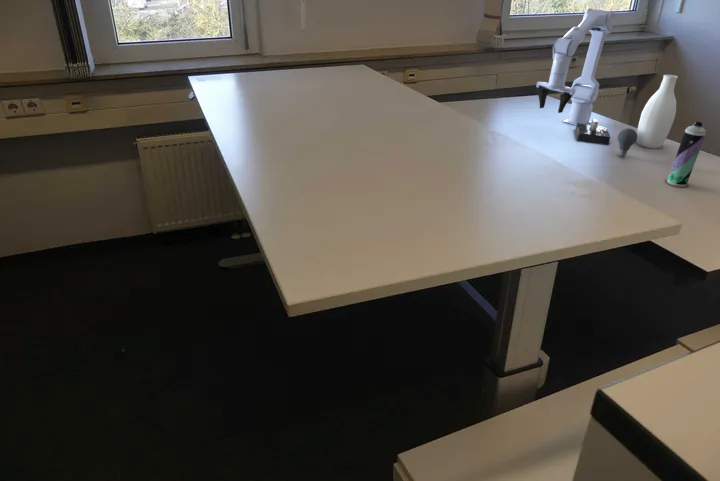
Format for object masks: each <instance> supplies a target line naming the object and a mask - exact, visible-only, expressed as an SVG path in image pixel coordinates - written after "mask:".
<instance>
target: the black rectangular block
mask: <svg viewBox="0 0 720 481" xmlns="http://www.w3.org/2000/svg"><path fill="white" fill-rule="evenodd" d="M574 131H575V136H576V141H577V142H583V143H591V144H598V145H607V146H608V145H609V144H610V140H611V136H610V135H611V134H610V132H609V130H608V128H607V126H604V125H598V126H597V129H596V132H592V130H591V124H580V123H577V125H575V129H574Z"/></svg>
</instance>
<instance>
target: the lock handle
mask: <svg viewBox="0 0 720 481" xmlns="http://www.w3.org/2000/svg"><path fill="white" fill-rule="evenodd" d="M590 125H591V130H592V132H596V129H597V126H599V122H598V120H597V118H592V121H591V123H590Z"/></svg>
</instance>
